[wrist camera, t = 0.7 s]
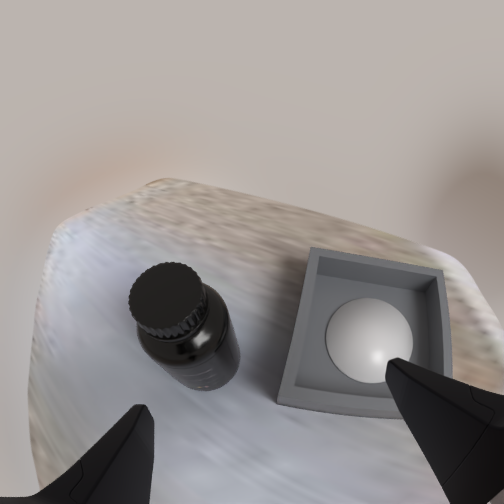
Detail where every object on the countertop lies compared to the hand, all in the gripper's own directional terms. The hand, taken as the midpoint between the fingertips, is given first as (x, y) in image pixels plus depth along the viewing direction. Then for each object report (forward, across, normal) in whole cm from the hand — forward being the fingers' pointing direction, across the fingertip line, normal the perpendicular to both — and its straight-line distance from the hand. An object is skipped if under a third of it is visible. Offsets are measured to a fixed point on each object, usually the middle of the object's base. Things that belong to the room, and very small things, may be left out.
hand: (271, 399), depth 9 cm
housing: (+13, -11, +10) cm, 20 cm away
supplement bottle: (+15, +5, +9) cm, 18 cm away
